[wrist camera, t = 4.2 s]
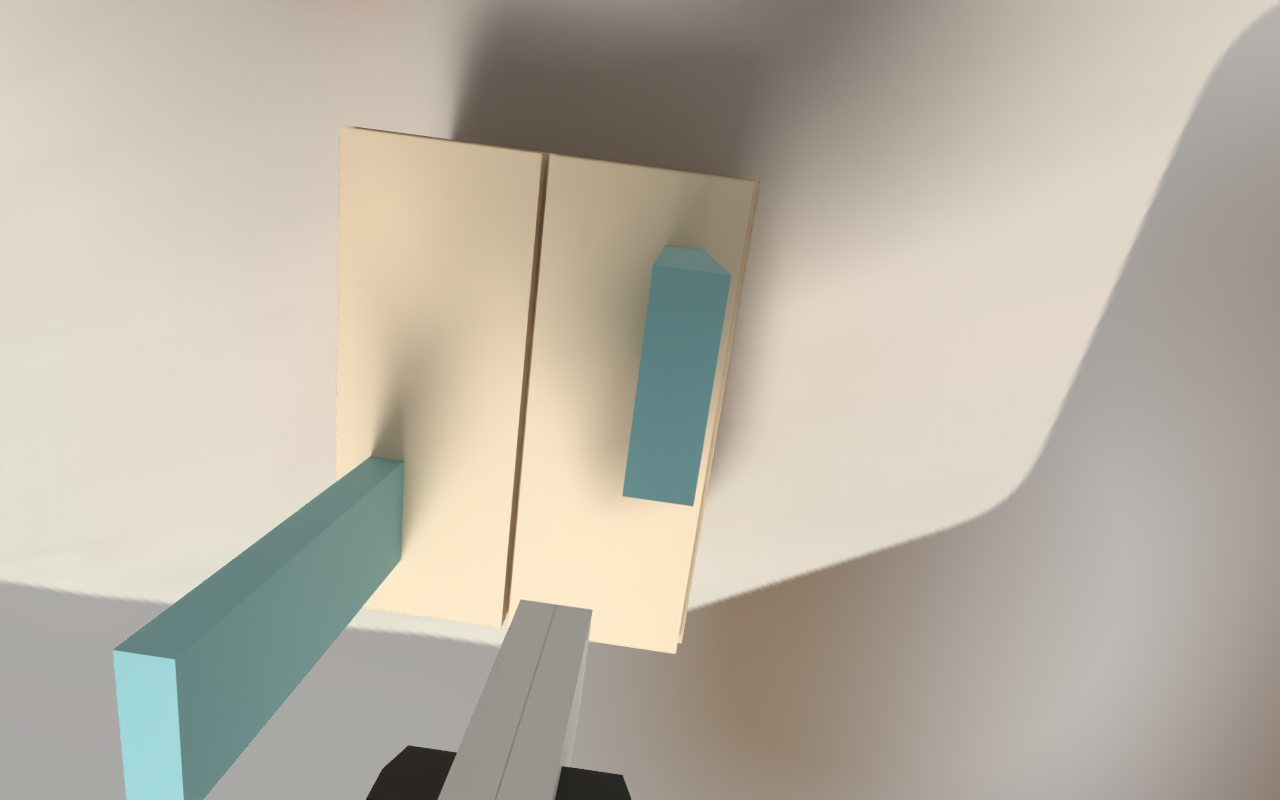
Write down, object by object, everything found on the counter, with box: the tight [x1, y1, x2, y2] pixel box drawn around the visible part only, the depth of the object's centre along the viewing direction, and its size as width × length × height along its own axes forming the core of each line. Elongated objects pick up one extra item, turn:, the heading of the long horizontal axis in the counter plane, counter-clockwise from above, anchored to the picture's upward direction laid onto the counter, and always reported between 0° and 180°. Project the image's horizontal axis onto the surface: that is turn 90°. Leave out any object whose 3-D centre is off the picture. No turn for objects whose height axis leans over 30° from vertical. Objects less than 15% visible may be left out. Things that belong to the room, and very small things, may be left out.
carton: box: [345, 126, 760, 643], centre depth 23 cm, size 11×14×8 cm
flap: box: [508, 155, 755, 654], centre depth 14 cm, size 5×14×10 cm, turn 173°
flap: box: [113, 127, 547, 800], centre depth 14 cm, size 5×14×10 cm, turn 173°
